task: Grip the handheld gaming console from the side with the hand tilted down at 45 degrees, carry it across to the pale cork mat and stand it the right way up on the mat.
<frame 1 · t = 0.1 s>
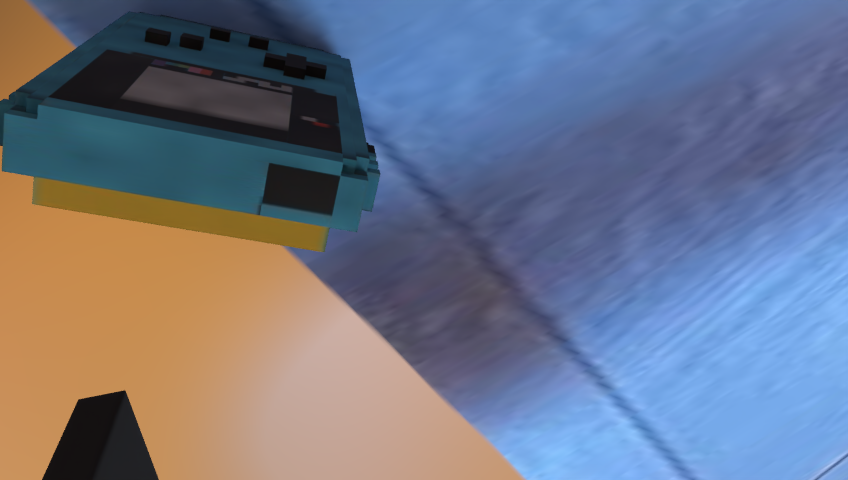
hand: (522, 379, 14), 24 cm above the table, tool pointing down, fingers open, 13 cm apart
handheld gaming console: (238, 71, 35), on the table
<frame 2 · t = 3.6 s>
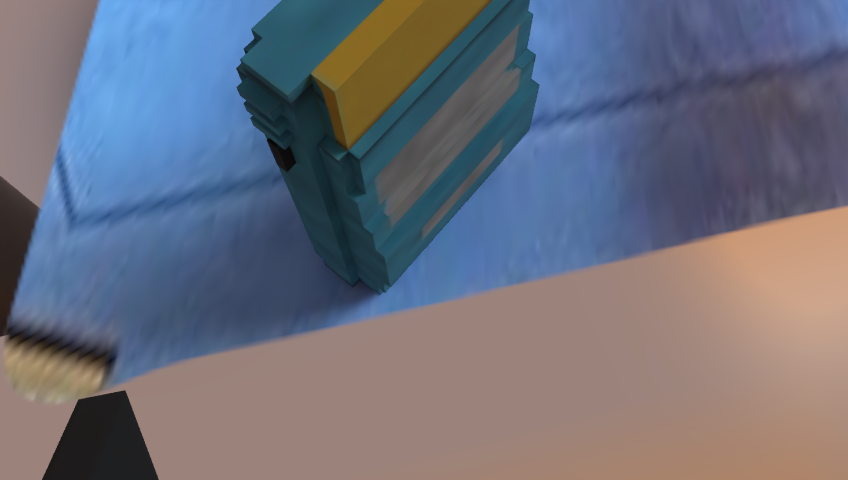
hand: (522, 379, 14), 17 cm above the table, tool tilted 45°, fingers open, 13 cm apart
handheld gaming console: (421, 206, 34), on the table
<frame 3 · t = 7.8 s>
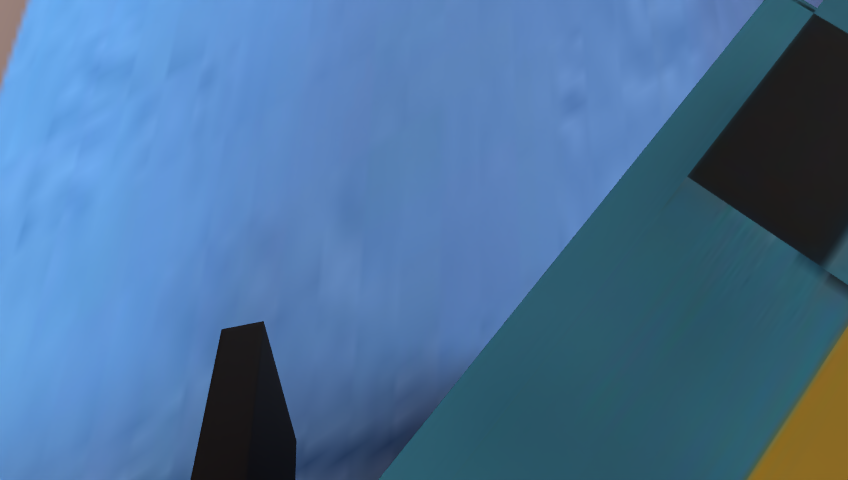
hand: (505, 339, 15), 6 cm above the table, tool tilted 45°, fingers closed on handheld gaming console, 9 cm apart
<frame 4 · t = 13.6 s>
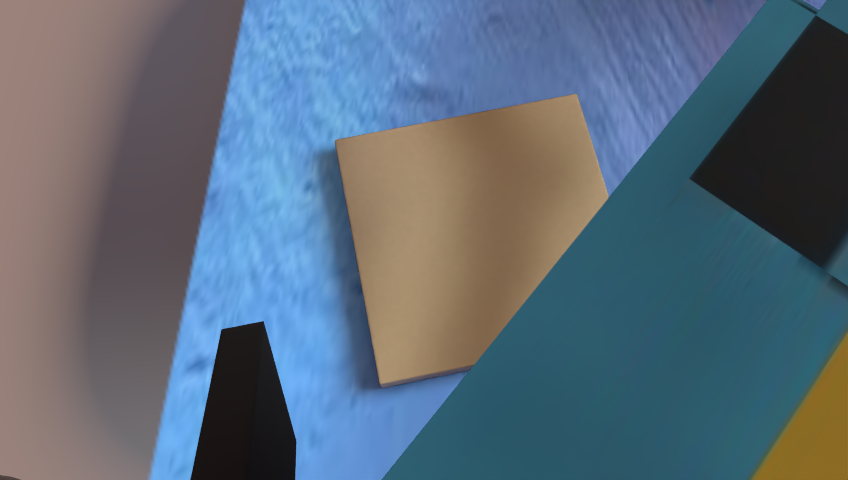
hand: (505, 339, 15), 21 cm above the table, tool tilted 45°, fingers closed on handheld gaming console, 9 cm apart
cork mat: (483, 237, 38), on the table
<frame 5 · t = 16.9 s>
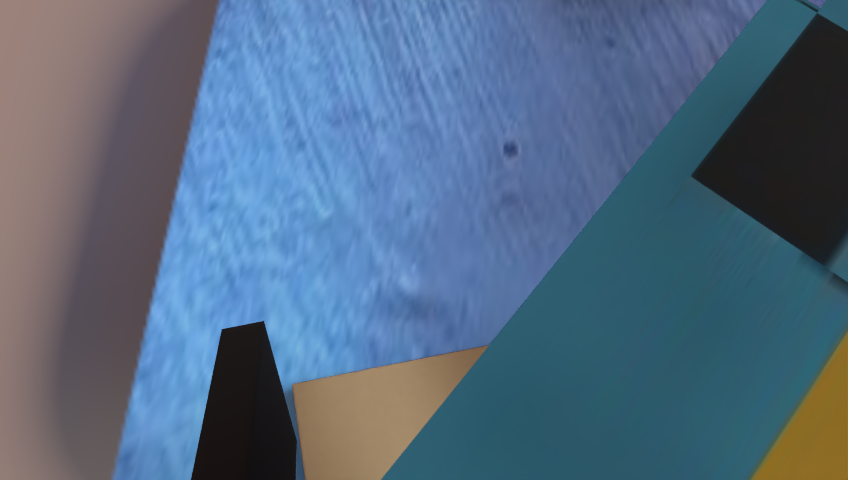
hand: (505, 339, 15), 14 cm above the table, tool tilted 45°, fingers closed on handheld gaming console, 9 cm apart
when the fingers open (7 cm above the table, at t = 19.5 s): handheld gaming console stays where it is, resting on cork mat.
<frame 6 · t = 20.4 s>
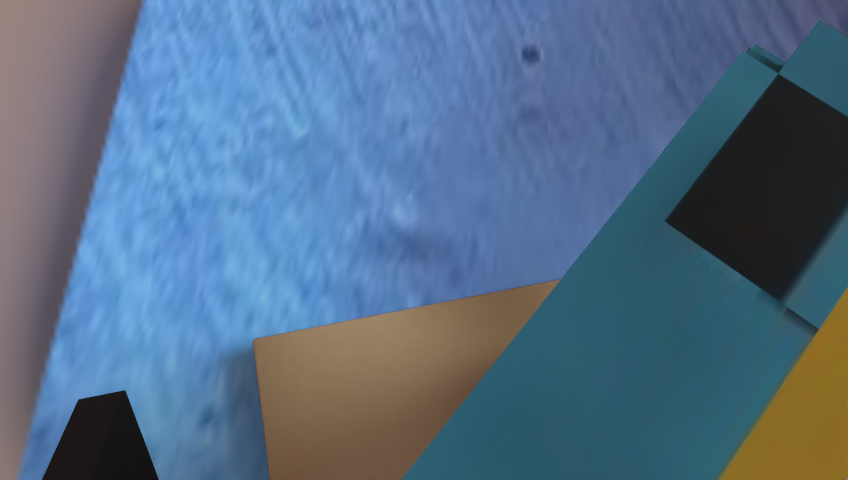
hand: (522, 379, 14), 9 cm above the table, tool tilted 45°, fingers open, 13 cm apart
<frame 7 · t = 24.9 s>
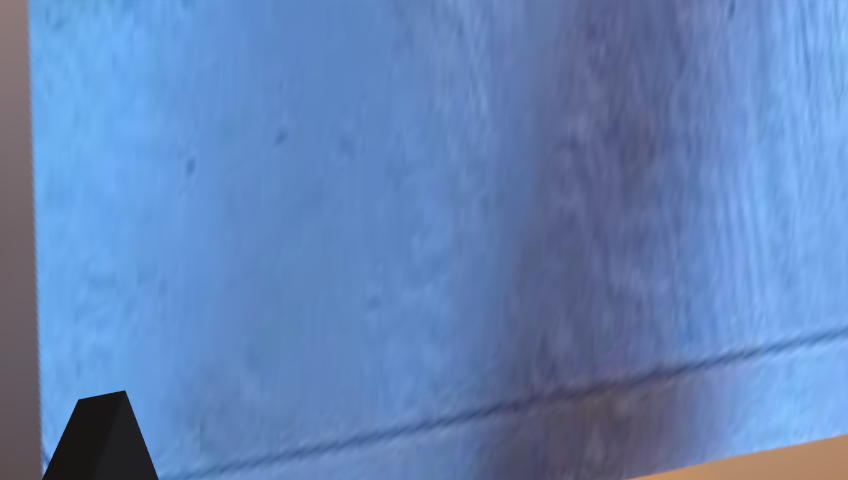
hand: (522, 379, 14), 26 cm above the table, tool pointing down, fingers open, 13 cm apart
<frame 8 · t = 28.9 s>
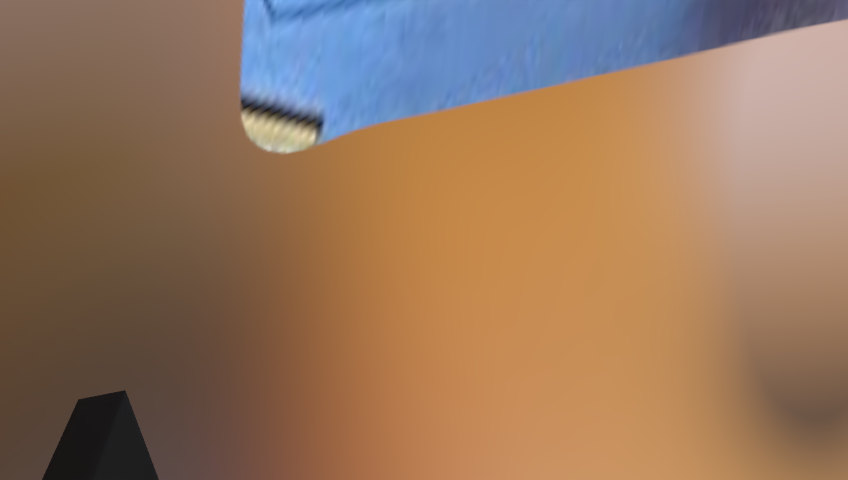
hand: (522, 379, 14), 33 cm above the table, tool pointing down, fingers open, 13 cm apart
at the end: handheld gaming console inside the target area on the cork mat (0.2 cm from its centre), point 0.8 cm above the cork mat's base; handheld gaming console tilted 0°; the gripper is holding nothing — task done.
